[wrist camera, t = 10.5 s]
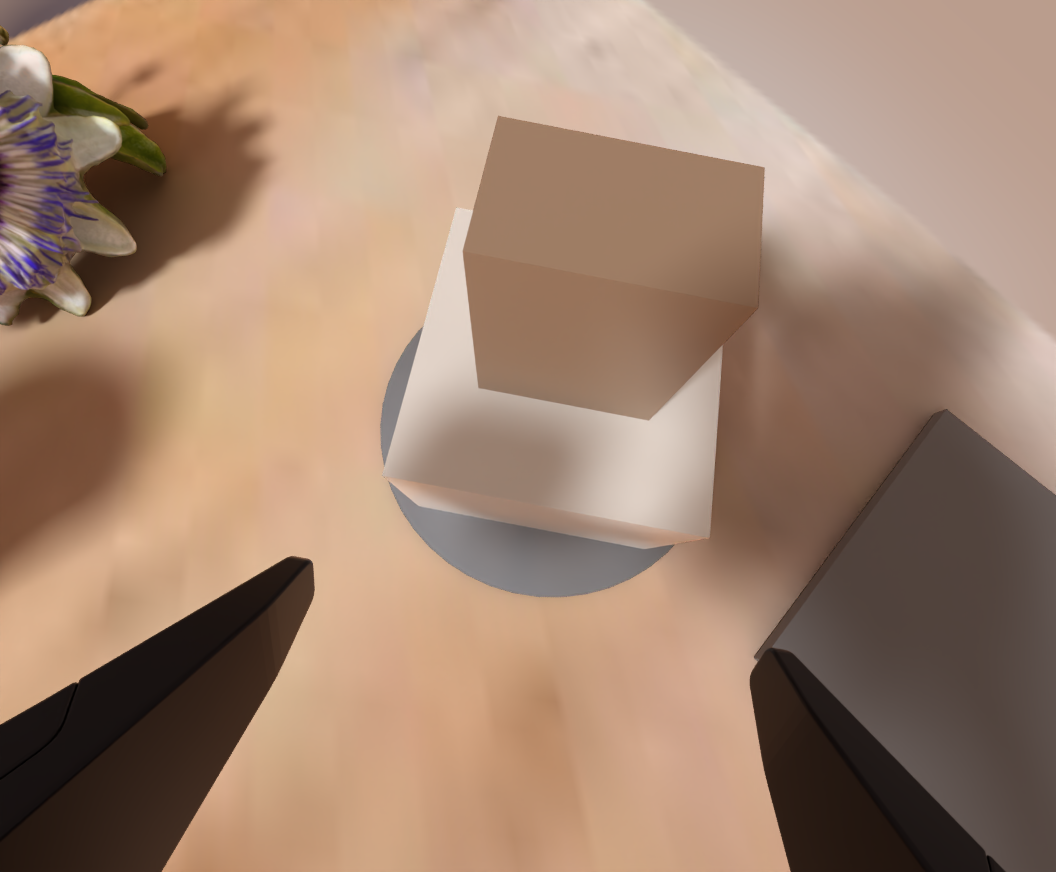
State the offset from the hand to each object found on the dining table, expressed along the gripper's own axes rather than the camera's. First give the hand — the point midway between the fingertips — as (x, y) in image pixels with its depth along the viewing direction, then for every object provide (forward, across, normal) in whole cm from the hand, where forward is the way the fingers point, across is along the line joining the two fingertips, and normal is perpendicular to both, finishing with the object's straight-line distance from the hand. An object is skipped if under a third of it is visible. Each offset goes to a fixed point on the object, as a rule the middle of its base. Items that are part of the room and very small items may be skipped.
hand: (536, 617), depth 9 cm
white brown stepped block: (+11, 0, +1) cm, 11 cm away
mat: (+8, -19, +6) cm, 21 cm away
